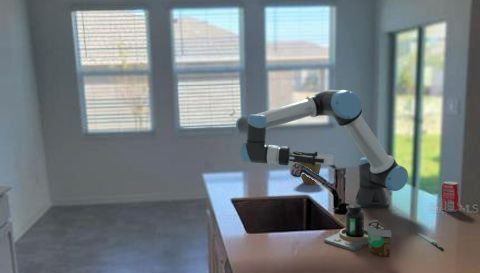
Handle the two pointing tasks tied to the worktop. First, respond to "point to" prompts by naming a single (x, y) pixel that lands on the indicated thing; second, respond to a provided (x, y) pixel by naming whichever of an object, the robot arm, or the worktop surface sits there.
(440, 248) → the chef's knife
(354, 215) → the supplement bottle
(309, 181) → the plant pot
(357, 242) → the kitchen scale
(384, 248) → the food container
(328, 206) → the worktop surface
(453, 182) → the soda can
